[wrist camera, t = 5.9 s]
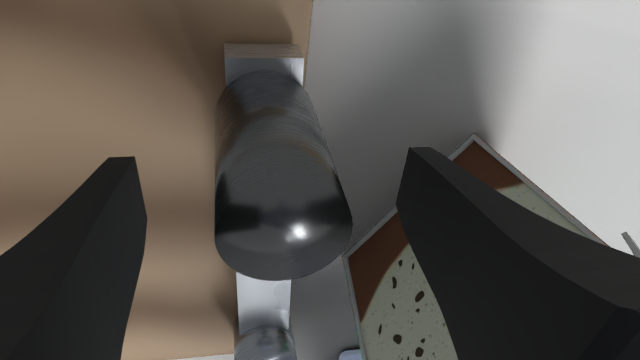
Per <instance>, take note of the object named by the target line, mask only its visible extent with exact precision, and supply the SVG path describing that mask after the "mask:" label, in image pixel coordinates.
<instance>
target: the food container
mask: <svg viewBox="0 0 640 360" xmlns="http://www.w3.org/2000/svg"><path fill="white" fill-rule="evenodd" d="M448 159H450V160H451V161H453V162H454V163H456V164H457V165H459V166H460V167H462V168H463V169H465V170H466V171H468V172H469V173H471V174H472V175H474V176H475V177H477V178H478V179H480V180H481V181H483V182H484V183H486V184H487V185H489V186H490V187H492V188H493V189H495V190H496V191H498V192H500V193H501V194H503V195H504V196H506V197H508V198H510V199H511V200H513V201H515V202H516V203H518V204H520V205H521V206H523V207H525V208H527V209H528V210H530V211H532V212H534V213H536V214H538V215H540V216H542V217H544V218H546V219H548V220H550V221H552V222H554V223H556V224H558V225H559V226H562V227H564V228H566V229H568V230H570V231H572V232H575V233H577V234H579V235H582V236H584V237H586V238H589V239H591V240H594V241H596V242H598V243H601V244H603V245H606V246H608V245H607V244H606V243H605V242H604V241H602V240H601V239H600V238H599V237H598V236H596V235H595V234H594V233H593V232H592V231H590V230H589V229H588V228H587V227H586V226H584V225H583V224H582V223H581V222H580V221H579V220H577V219H576V218H575V217H574V216H573V215H571V214H570V213H569V212H568V211H567V210H565V209H564V208H563V207H562V206H561V205H559V204H558V203H557V202H556V201H555V200H553V199H552V198H551V197H550V196H549V195H547V194H546V193H545V192H544V191H543V190H541V189H540V188H539V187H538V186H537V185H535V184H534V183H533V182H532V181H531V180H529V179H528V178H527V177H526V176H525V175H524V174H522V173H521V172H520V171H519V170H518V169H516V168H515V167H514V166H513V165H512V164H510V163H509V162H508V161H507V160H506V159H504V158H503V157H502V156H501V155H500V154H498V153H497V152H496V151H495V150H494V149H492V148H491V147H490V146H489V145H488V144H486V143H485V142H484V141H483V140H482V139H480V138H479V137H478V136H477V135H476V134H473V135H471V136H470V137H469V138H468V139H467V140H466V141H465V142H464V143H463V144H462V145H461V146H460V147H459V148H458V149H457V150H455V151H454V152H453V153H452V154H451V155H450V156H449V157H448ZM621 235H622V236H623V238H624V239H625V241H626V243H627V244H628V246H629V247H630V249H631V250H632V252H633V254H634V256H636V257H639V258H640V249H639V248H638V246H637V245H636V243H635V242H634V241H633V240H632V238H631V237H630V236H629V235H628V233H627V232H624V233H622V234H621ZM608 247H610V246H608ZM342 257H343V262H344V267H345V272H346V278H347V283H348V288H349V293H350V299H351V304H352V309H353V314H354V320H355V325H356V330H357V335H358V341H359V346H360V351H361V356H362V360H458V358H457V354H456V351H455V348H454V345H453V342H452V340H451V337H450V334H449V331H448V328H447V325H446V323H445V320H444V317H443V314H442V312H441V309H440V307H439V305H438V303H437V300H436V298H435V296H434V294H433V292H432V290H431V288H430V286H429V284H428V282H427V279H426V277H425V275H424V273H423V271H422V269H421V267H420V265H419V263H418V261H417V259H416V257H415V255H414V253H413V251H412V248H411V246H410V244H409V242H408V240H407V238H406V236H405V233H404V230H403V227H402V224H401V221H400V217H399V214H398V211H397V207H395V208H393V209H392V210H391V211H390V212H389V213H388V214H387V215H386V216H385V217H384V218H383V219H382V220H381V221H380V222H378V223H377V224H376V225H375V226H374V227H373V228H372V229H371V230H370V231H369V232H368V233H367V234H366V235H365V236H364V237H362V238H361V239H360V240H359V241H358V242H357V243H356V244H355V245H354V246H353V247H352V248H351V249H350V250H349V251H347V252H346V253H345V254H344V255H343V256H342Z"/></svg>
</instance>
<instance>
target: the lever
mask: <svg viewBox="0 0 640 360" xmlns="http://www.w3.org/2000/svg"><path fill="white" fill-rule="evenodd" d="M224 55H225V75H226V88H225V89H224V91H223V92H222V93H221V95H220V97H219V99H218V101H217V105H216V110H215V220H214V241H215V246H216V249H217V251H218V254H219V255H220V257H221V258H222V260H223V261H224V262H225V263H226V264H227V265H228V266H229V267H230V268H232V269H233V270H235V271H236V280H237V298H238V317H237V318H236V319H235V321H234V324H233V333H234V360H297V357H296V351H295V344H294V338H293V331H292V325H291V318H290V315H289V311H290V294H291V280H292V279H296V278H300V277H304V276H307V275H309V274H312V273H314V272H316V271H318V270H320V269H322V268H324V267H325V266H327V265H328V264H330V263H331V262H332V261H333V260H335V259H336V258H337V257H338V256H339V255H340V253H341V252H342V251H343V250H344V248H345V247H346V245H347V243H348V241H349V239H350V236H351V232H352V225H353V223H352V216H351V212H350V209H349V206H348V204H347V201H346V198H345V195H344V192H343V190H342V187H341V184H340V181H339V178H338V176H337V173H336V170H335V167H334V164H333V162H332V159H331V156H330V153H329V150H328V148H327V145H326V142H325V139H324V136H323V134H322V131H321V128H320V125H319V122H318V120H317V117H316V114H315V111H314V108H313V106H312V103H311V100H310V98H309V95H308V93H307V92H306V90H305V89H304V88H303V70H304V57H303V54H302V52H301V49H300V47H299V44H228V43H224Z"/></svg>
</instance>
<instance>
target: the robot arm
mask: <svg viewBox="0 0 640 360" xmlns="http://www.w3.org/2000/svg"><path fill="white" fill-rule="evenodd" d="M396 207H397V211H398V214H399V217H400V221H401V224H402V227H403V230H404V233H405V236H406V238H407V240H408V242H409V244H410V246H411V248H412V251H413V253H414V255H415V257H416V259H417V261H418V263H419V265H420V267H421V269H422V271H423V273H424V275H425V277H426V279H427V282H428V284H429V286H430V288H431V290H432V292H433V294H434V296H435V298H436V300H437V303H438V305H439V307H440V309H441V312H442V314H443V317H444V320H445V323H446V325H447V328H448V331H449V334H450V337H451V340H452V342H453V345H454V348H455V351H456V354H457V358H458V360H640V258H639V257H636V256H633V255H630V254H627V253H624V252H622V251H619V250H616V249H614V248H611V247H608V246H606V245H603V244H601V243H598V242H596V241H594V240H591V239H589V238H586V237H584V236H582V235H579V234H577V233H575V232H572V231H570V230H568V229H566V228H564V227H562V226H559V225H558V224H556V223H554V222H552V221H550V220H548V219H546V218H544V217H542V216H540V215H538V214H536V213H534V212H532V211H530V210H528V209H527V208H525V207H523V206H521V205H520V204H518V203H516V202H515V201H513V200H511V199H510V198H508V197H506V196H504V195H503V194H501V193H500V192H498V191H496V190H495V189H493V188H492V187H490V186H489V185H487V184H486V183H484V182H483V181H481V180H480V179H478V178H477V177H475V176H474V175H472V174H471V173H469V172H468V171H466V170H465V169H463V168H462V167H460V166H459V165H457V164H456V163H454V162H453V161H451V160H450V159H448V158H447V157H445V156H444V155H442V154H441V153H439V152H437V151H436V150H434V149H432V148H430V147H416V148H409V150H408V155H407V159H406V163H405V167H404V171H403V176H402V180H401V184H400V188H399V192H398V197H397V201H396ZM146 229H147V214H146V209H145V204H144V199H143V194H142V189H141V184H140V179H139V174H138V169H137V164H136V159H135V156H131V157H108V158H107V159H106V160H105V161H104V162H103V163H102V164H101V165H100V166H99V167H98V168H97V169H96V170H95V171H94V172H93V173H92V174H91V175H90V176H89V177H88V178H87V180H86V181H85V182H84V183H83V184H82V185H81V186H80V187H79V188H78V189H77V190H76V191H75V192H74V193H73V194H72V195H71V196H70V197H69V198H67V199H66V200H65V201H64V202H63V203H62V204H61V205H60V206H59V207H58V208H57V209H56V210H55V211H54V212H53V213H52V214H50V215H49V216H48V217H47V218H46V219H45V220H44V221H42V222H41V223H40V224H39V225H38V226H37V227H36V228H35V229H33V230H32V231H31V232H30V233H29V234H28V235H26V236H25V237H24V238H23V239H21V240H20V241H19V242H18V243H16V244H15V245H14V246H12V247H11V248H10V249H8V250H7V251H6V252H4V253H3V254H2V255H0V360H121V354H122V347H123V342H124V337H125V331H126V327H127V323H128V319H129V315H130V311H131V306H132V302H133V298H134V294H135V290H136V286H137V282H138V277H139V273H140V269H141V265H142V260H143V256H144V250H145V240H146ZM339 360H362V356H361V351H360V349H357V350H347V351H344V352H342V353H341V354H340V356H339Z"/></svg>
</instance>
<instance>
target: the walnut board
mask: <svg viewBox="0 0 640 360" xmlns="http://www.w3.org/2000/svg"><path fill="white" fill-rule="evenodd" d="M312 5H313V0H0V255H2V254H3V253H4V252H6V251H7V250H8V249H10V248H11V247H12V246H14V245H15V244H16V243H18V242H19V241H20V240H21V239H23V238H24V237H25V236H26V235H28V234H29V233H30V232H31V231H32V230H33V229H35V228H36V227H37V226H38V225H39V224H40V223H41V222H42V221H44V220H45V219H46V218H47V217H48V216H49V215H50V214H52V213H53V212H54V211H55V210H56V209H57V208H58V207H59V206H60V205H61V204H62V203H63V202H64V201H65V200H66V199H67V198H69V197H70V196H71V195H72V194H73V193H74V192H75V191H76V190H77V189H78V188H79V187H80V186H81V185H82V184H83V183H84V182H85V181H86V180H87V178H88V177H89V176H90V175H91V174H92V173H93V172H94V171H95V170H96V169H97V168H98V167H99V166H100V165H101V164H102V163H103V162H104V161H105V160H106V159H107V158H108V157H131V156H135V159H136V164H137V169H138V174H139V179H140V184H141V189H142V194H143V199H144V204H145V209H146V214H147V229H146V240H145V250H144V256H143V260H142V265H141V269H140V273H139V277H138V282H137V286H136V290H135V294H134V298H133V302H132V306H131V311H130V315H129V319H128V323H127V327H126V331H125V337H124V342H123V347H122V354H121V360H172V359H183V358H193V357H203V356H213V355H223V354H233V353H234V333H233V324H234V321H235V319H236V318H237V317H238V298H237V280H236V271H235V270H233V269H232V268H230V267H229V266H228V265H227V264H226V263H225V262H224V261H223V260H222V258H221V257H220V255H219V254H218V251H217V249H216V246H215V241H214V220H215V110H216V105H217V101H218V99H219V97H220V95H221V93H222V92H223V91H224V89H225V88H226V75H225V55H224V43H228V44H299V47H300V49H301V52H302V54H303V57H304V70H303V88H304V83H305V74H306V64H307V54H308V44H309V35H310V25H311V15H312Z"/></svg>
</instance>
